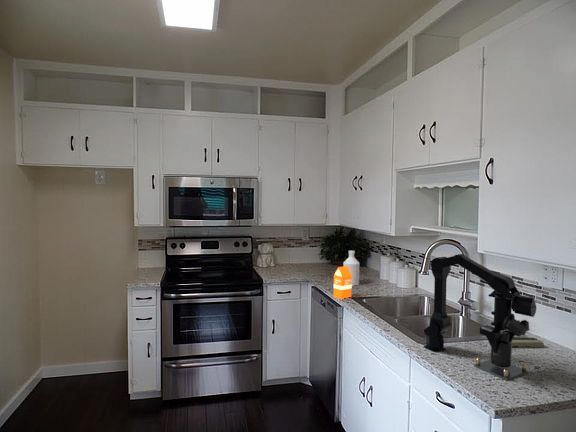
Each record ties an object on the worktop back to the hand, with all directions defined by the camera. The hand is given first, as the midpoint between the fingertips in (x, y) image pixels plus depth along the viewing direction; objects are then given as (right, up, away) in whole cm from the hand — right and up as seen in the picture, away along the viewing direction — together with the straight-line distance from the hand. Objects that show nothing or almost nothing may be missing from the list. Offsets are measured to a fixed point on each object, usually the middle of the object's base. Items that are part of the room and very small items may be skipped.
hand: (501, 350), depth 145 cm
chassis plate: (0, -7, 0) cm, 7 cm away
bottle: (-33, 0, +142) cm, 146 cm away
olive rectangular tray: (+23, -7, +26) cm, 35 cm away
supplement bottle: (0, -5, 0) cm, 5 cm away
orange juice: (-45, -2, +105) cm, 114 cm away
